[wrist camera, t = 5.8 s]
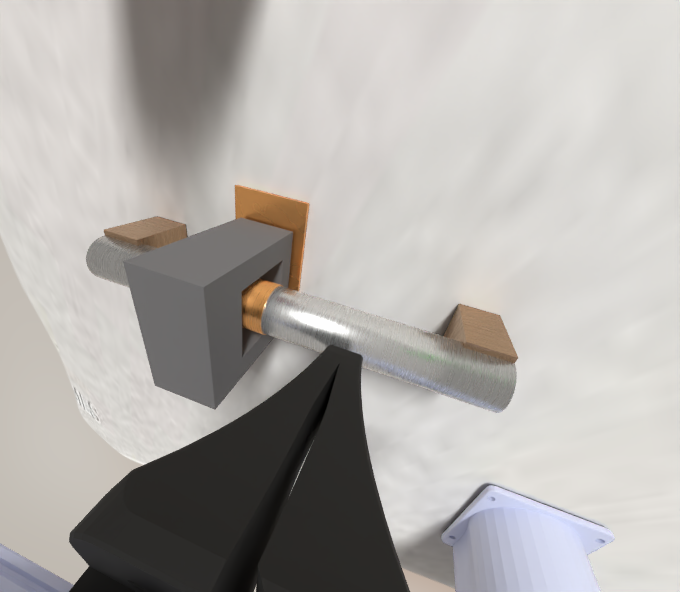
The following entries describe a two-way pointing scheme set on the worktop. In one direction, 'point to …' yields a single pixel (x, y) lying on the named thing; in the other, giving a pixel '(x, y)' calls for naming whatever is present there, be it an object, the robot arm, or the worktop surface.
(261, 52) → the worktop surface
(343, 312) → the rail
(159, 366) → the collar
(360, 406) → the robot arm
